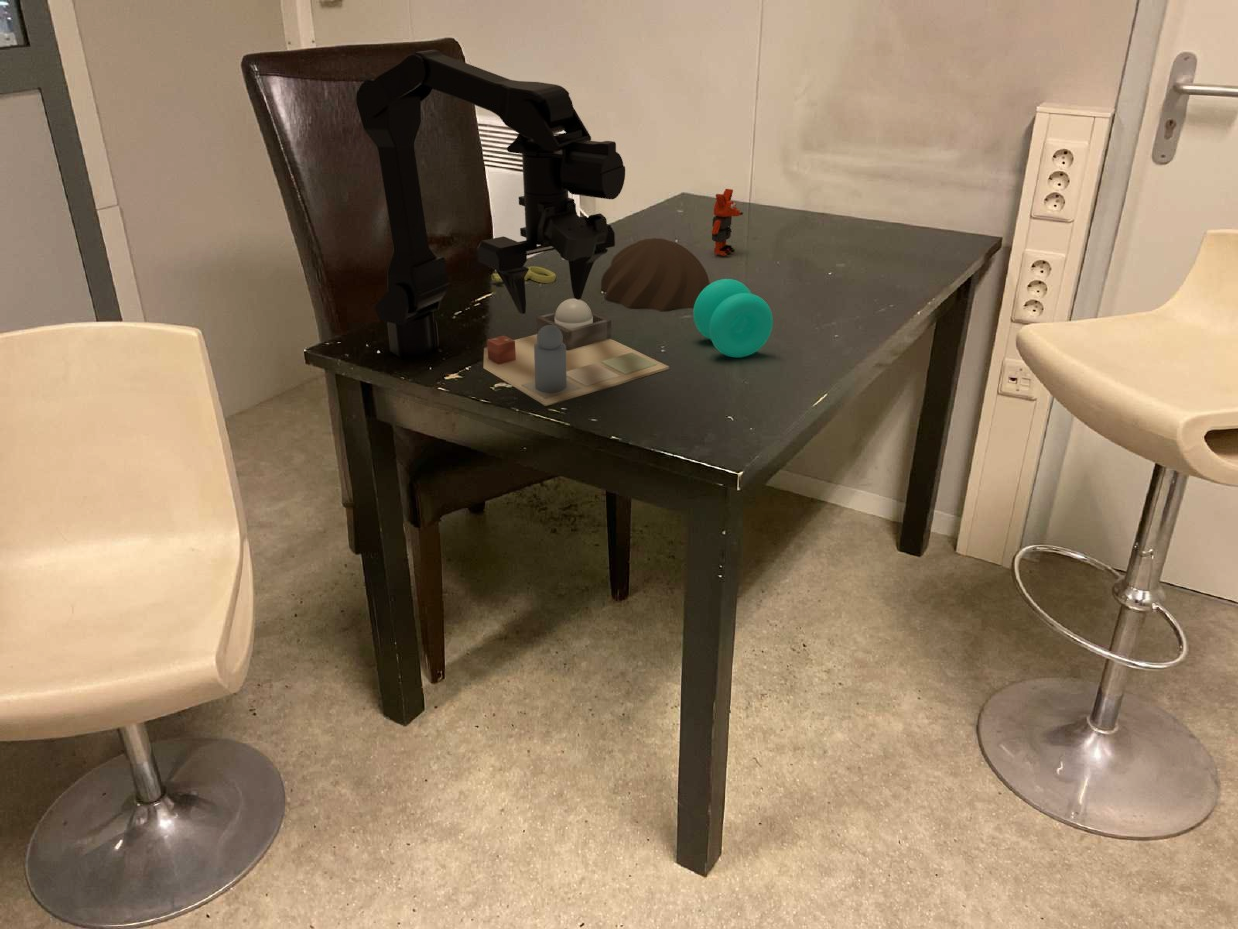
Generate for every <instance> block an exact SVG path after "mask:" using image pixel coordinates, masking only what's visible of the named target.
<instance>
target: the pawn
mask: <svg viewBox="0 0 1238 929" xmlns="http://www.w3.org/2000/svg"><path fill="white" fill-rule="evenodd" d="M536 334H537V333H536ZM562 342H563V335H562V332H561V331H560V329H559V328H557V327H556V326H553V325H547V326H544V327H542V328H541V329H540V330H539V332H538V334H537V343H536V344H535V345H534V360H535V387H536V389H537V390H539V391H542V392H548V393H553V392H559V391H562V390H564V389H565V388H566V386H567V382H566V345H565V344H564V343H562Z"/></svg>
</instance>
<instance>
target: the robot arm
mask: <svg viewBox="0 0 1238 929" xmlns="http://www.w3.org/2000/svg"><path fill="white" fill-rule="evenodd" d="M435 91H438V92H441V93H443V94H446V95H447V96H450V97H452V98H456V99H458V100H461V101H463V102H466V103H469V104H471V105H473V106H476V107H479V108H482V109H484V110H487V111H489V112H492V113H493V114H494V115H496V116H498V117H499V119H500V120H501V121H502V122H503V124H504V125H505V126H506V127H508V128H509V129H511V130H513V131H514V132H516V133H518V134H517V136H516V138H515V139H514V141H512V142H511V144H509V145H508V146H507V147H506V151H507V152H508V153H511V154H520V155H522V156H521V157H522V158H521V159H522V160H521V161H522V176H523V178H522V179H523V181H522V182H523V196H522V195H521V196H518V205H519V206H521V207H524V220H525V221H524V223H525V226H524V227H520V229H519V232H520V233H519V234H520V236H521V237H523V238H525V240H522V241H517V240H514V239H512V238H508V237H507V236H499V237H494V238H489V239H484V240H481V241H480V243H479V245H478V246H477V249H476V251H477V263H480V264H483V265H484V266H486V267H487V268H489V269H492V270H495V272H496V274H498V275H499V276H500V278H501V279H502V281H501V282H503V284H504V285H505V288H506V289H507V292H508V295H510V297H511V299H512V301H513V304H514V305H515V308H516V309H517V311H518V313H520V314H521V315H524V314H526V310H527V309H526V308H527V300H526V298H527V296H526V283H525V280H524V278H525V276H526V274H527V272H528V270H529V268H528V267H526V266H524V265H525V264H526V262H527V261H528V256H531V255H535V254H540V253H544V252H550V251H553V250H555V251H556V252H557V253H559V255H560V257H561V258H562V259H563V260H565V261H567V262H568V267H569V268H568V269H569V276H570V284H571V285H570V286H571V290H572V291H571V292H572V296H573V299H577V300H582V297H583V294H584V291H585V287H586V285H587V281H588V278H589V276H590V273H591V270H592V268H593V266H594V263H596V260H598V259H599V258H600V257H601V256H603V255H606V254H607V253H608V251H609V248H613V247H615V246H616V232H615V230H614V228H613V227H612V225H611V224H608V222H607V220H608V219H607V217H606V216H605V215H603V214H602V213H594V214H591V215H590V214H589V216H587V215H584V216H579V215H578V213H577V206H576V203H575V199H574V198H572V197H569V194H571V195H576V196H583V197H590V198H597V199H606V200H615V199H616V198H618V196H619V195H620V194H621V192H622V190H623V187H624V184H625V179H626V167H625V165H624V161H623V158H622V156H621V154H620V153H618V152H617V143H616V141H612V140H604V141H597V140H592V136H591V134H590V133H589V131H588V129H587V127H586V126H585V125H584V123H583V120H581V117H580V116H579V114H578V112H577V111H576V109H575V108H574V104H573V100H572V98H571V96H570V93H569V91H568V90H567V89H566V88H565V87H563V86H561V85H559V84H553V83H547V82H540V81H525V80H514V79H510V78H507V77H504V76H502V75H500V74H497V73H493V72H491V71H488V70H486V69H483V68H480V67H477V66H474V65H472V64H471V63H467V62H464V61H461V60H458V59H456V58H453V57H451V56H448V55H446V54H444V52H441V51H439V50H437V49H427V50H422V51H421V50H420V51H414V52H413V53H410V54H409V55H408V56H407V57H406V58H405V59H403V60H402V61H401V62H400V63H398V64H397V65H395V66H393V67H392V68H390V69H388V70H386V71H385V72H383V73H382V74H380V75H378V76H376V78H373V79H368V80H365V81H363V83H361V85H360V87H359V88H358V89H357V90H356V92H355V99H356V100H355V101H356V106H357V110H358V111H357V112H358V115H359V118H360V120H361V121H360V122H361V124H362V129H363V130H364V131H365V133H366V134H367V136H368V137H369V138H370V140H371V141H372V142H373V144H374V145H375V146H376V148H377V152H378V158H379V164H380V170H381V176H382V178H381V179H382V182H383V188H384V196H385V201H386V208H387V215H388V220H389V227H390V234H391V239H392V246H393V252H392V256H391V259H390V262H389V265H388V269H387V271H386V272H387V273H386V274H387V275H386V276H387V278H386V280H387V291H386V292H385V294H384V295H383V297H381V299H380V300H379V301H378V302H377V304H376V305H375V306H374V308H375V312H376V314H377V317H378V320H379V321H382V322H386V325H387V333H388V341H389V351H390V353H393V355H395V356H397V357H398V358H399V359H400V360H401V361H403V362H404V361H410V360H414V359H419V358H423V357H426V356H431V355H435V354H440V353H442V350H441V349H440V348H439V344H440V343H439V332H438V323H437V321H436V319H434V317H435V316H434V313H433V312H434V311H438V310H439V309H440V307H441V303H442V299H444V296H445V295H446V294H447V286H448V285H449V284H450V280H449V277H448V274H447V262H446V258H445V257H443V256H439V257H437V255H436V254H435V252H434V251H433V250H432V249H431V247H430V245H429V242H428V235H427V234H428V233H427V228H426V226H427V225H426V220H425V214H424V212H425V211H424V207H423V200H422V192H421V186H420V180H419V172H418V164H417V159H416V158H417V157H416V151H415V141H416V138H417V135H418V133H419V132H418V131H419V128H420V125H421V122H422V112H421V109H422V105H421V104H422V102H423V101H425V100H427V99H428V98H429V97H430V96H431V95H432V94H433V93H434V92H435ZM563 131H564V132H563ZM561 132H563V133H561ZM558 133H559V134H558ZM555 134H557V135H555Z"/></svg>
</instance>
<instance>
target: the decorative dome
mask: <svg viewBox="0 0 1238 929" xmlns="http://www.w3.org/2000/svg"><path fill="white" fill-rule="evenodd" d="M709 284H711V283H710V280H709V276H708V273H707V271H706V268H705V267H704V266H703V264H702V263H701V261H700V260H699V259H698V258H697V257H696V256H695V254H693V252H691V251H690V250H688V249H687V248H686V247H684V245H682V244H679V243H677V242H675V241H672V240H668V239H665V238H661V237H660V238H656V237H654V238H646V239H641V240H639V241H636V242H635V243H631V244H629V245H628V246H626V247H624V248H622V249H621V250H620V251H618V252H617V253H616V255H614V257H613V258H612V260H611V263H610V266H609V267H608V268H606V271H604V272H603V275H602V277H601V283H600V287H601V290H602V291H603V292H605V296H604V297H603V299H604V301H605V300H606V301H609V302H612V303H618V304H620V305H622V306H623V307H625V308H626V309H649V310H655V311H658V312H662V313H663V312H669V311H673V310H675V309H690V308H691V309H692V308H693V309H694V304H695V302H696V299H697V297H698V296H699V294H700V293H701V291H702V290H703V289H704V288H705V287H707V286H708V285H709Z"/></svg>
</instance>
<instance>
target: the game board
mask: <svg viewBox="0 0 1238 929" xmlns="http://www.w3.org/2000/svg"><path fill="white" fill-rule="evenodd" d="M591 312H592V316H593V323H591V324H587V325H583V326H580V327H576V328H572V329H567V328H564V327H562V326H560V325H558V324H556V323H555V314H556V311H555V312H551V313H547V314H543V315H539V316H536V334H533V335H529V336H525V337H522V338H518V339H517V338H516V339H512V338H510V337H508V336H506V335H500V336H496V337H492V338H489V339H486V345H487V346H486V347H484V348H483V369H484V370H486V371H487V372H490V373H491V374H493V375H494V376H496V377H498V378H499V379H501V380H502V381H504V382H505V383H506V384H509V385H510V386H512V387H514V388H515V389H517V390H519V391H520V392H522V393H523V394H525V395H527V396H528V397H530V398H531V399H533V400H535V401H536V402H538V403H540V404H542V405H543V406H545V407H546V406H550V405H551V406H552V405H555V404H557V403H560V402H564V401H567V400H571V399H574V398H577V397H581V396H584V395H588V394H591V393H594V392H599V391H602V390H605V389H609V388H612V387H615V386H619V385H622V384H624V383H629V382H633V381H635V380H638V379H642V378H644V377H648V376H651V375H655V374H656V373H661V372H664V371H667V370H669V369H670V366H669V365H667V364H664V363H663V362H660V361H658V360H657V359H654V358H652V357H649V356H648V355H645V354H644V353H641V352H639V351H637V350H635V349H634V348H631V347H628V346H627V345H624V344H623V343H620V342H618V341H616V340H614V339H612V319H609V318H607V317H605V316H602V315H600V314H598V313H596V312H594V311H592V310H591ZM547 325H553V326H556V327H557V328H559V329H560V331H561V332H562V335H563V342H562V343H564V344H565V345H566V382H567V386H566V388H565V389H564V390H562V391H559V392H553V393H548V392H542V391H539V390H537V389H536V387H535V360H534V345H535V344H536V343H537V334H538V332H539V330H540V329H541V328H542V327H544V326H547Z"/></svg>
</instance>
